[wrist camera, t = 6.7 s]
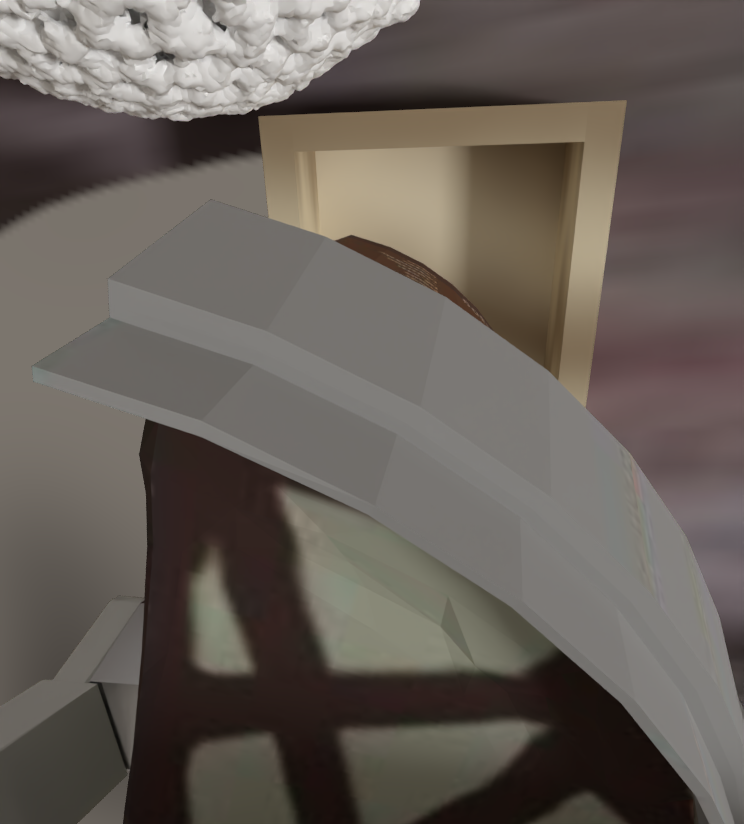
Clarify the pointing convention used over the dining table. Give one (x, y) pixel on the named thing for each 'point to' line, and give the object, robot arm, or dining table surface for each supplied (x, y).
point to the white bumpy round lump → (184, 50)
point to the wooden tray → (469, 206)
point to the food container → (391, 556)
